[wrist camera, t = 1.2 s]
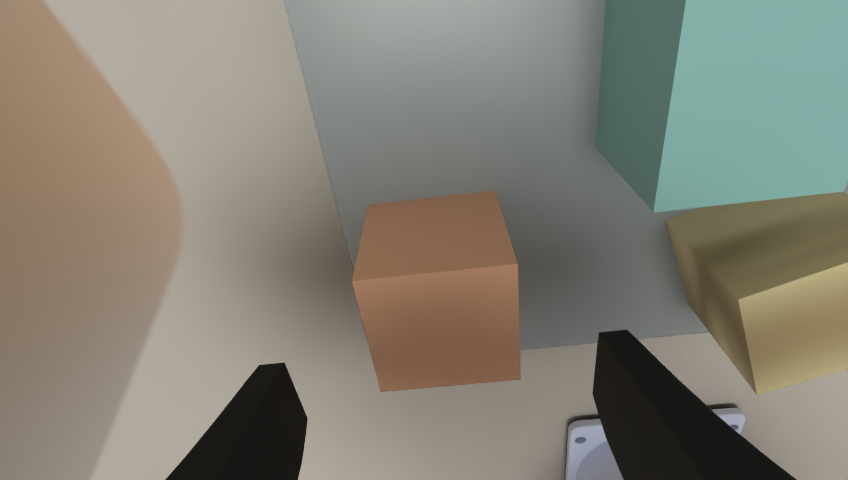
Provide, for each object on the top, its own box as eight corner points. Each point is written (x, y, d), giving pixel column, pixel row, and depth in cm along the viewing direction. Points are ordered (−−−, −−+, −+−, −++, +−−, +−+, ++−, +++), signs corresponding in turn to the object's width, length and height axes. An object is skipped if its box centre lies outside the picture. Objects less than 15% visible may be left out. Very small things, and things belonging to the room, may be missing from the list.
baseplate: (776, 303, 18) (797, 323, 17) (379, 341, 19) (377, 363, 18) (1102, -610, 8) (1205, -695, 7) (193, -418, 9) (163, -467, 8)
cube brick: (500, 291, 16) (520, 379, 13) (389, 302, 17) (380, 391, 13) (495, 190, 14) (517, 264, 11) (368, 204, 15) (351, 281, 11)
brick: (809, 264, 16) (914, 349, 12) (689, 305, 17) (757, 394, 13) (800, 167, 14) (922, 236, 10) (666, 220, 15) (738, 299, 11)
